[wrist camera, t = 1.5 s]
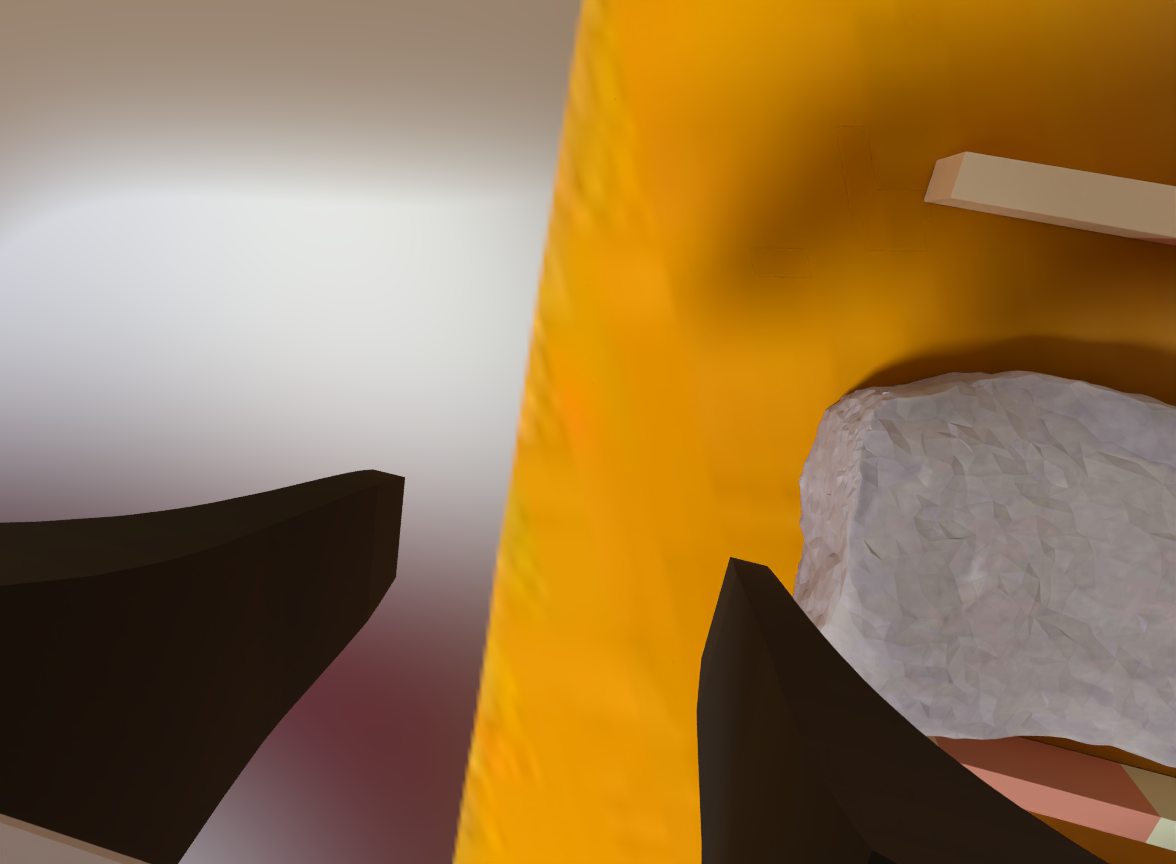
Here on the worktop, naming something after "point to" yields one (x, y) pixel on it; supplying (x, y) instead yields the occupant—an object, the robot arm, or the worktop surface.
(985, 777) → the trap lane
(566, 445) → the worktop surface
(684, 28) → the worktop surface
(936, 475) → the stone block
